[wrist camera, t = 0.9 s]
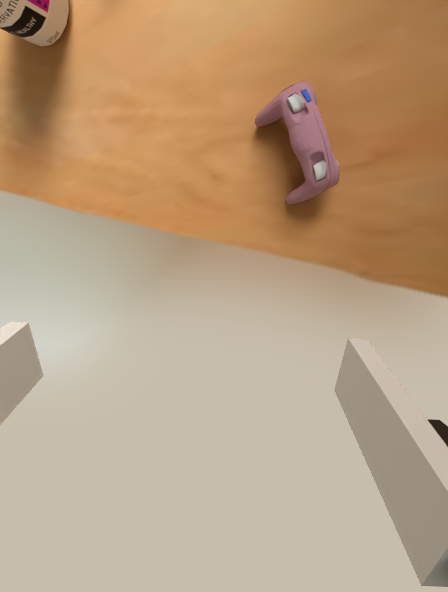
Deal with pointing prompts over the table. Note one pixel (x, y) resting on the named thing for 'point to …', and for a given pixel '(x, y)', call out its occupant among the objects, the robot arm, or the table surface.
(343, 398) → the robot arm
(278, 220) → the table surface
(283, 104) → the video game controller
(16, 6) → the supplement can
